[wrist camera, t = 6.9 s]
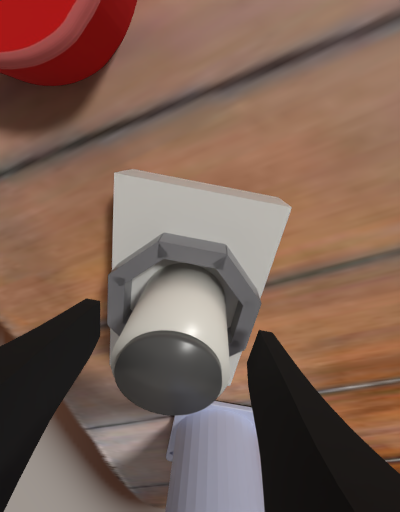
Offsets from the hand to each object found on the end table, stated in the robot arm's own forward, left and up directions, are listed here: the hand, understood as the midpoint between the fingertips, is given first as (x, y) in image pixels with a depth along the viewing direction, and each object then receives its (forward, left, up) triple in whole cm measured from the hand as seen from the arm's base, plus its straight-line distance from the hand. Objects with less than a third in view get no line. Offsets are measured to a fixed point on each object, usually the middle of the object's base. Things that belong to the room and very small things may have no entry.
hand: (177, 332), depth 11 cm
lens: (0, 0, -2) cm, 3 cm away
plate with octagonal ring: (0, 0, -5) cm, 5 cm away
